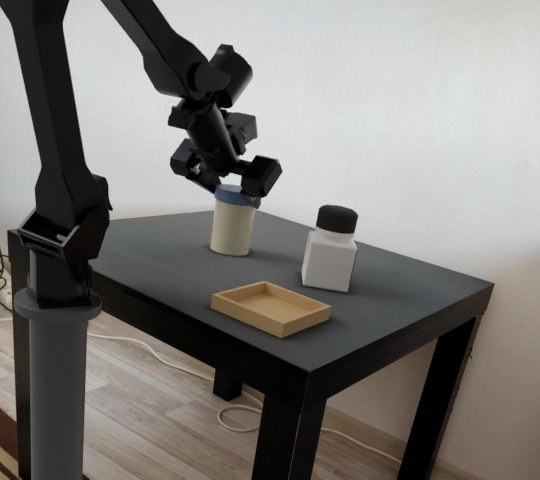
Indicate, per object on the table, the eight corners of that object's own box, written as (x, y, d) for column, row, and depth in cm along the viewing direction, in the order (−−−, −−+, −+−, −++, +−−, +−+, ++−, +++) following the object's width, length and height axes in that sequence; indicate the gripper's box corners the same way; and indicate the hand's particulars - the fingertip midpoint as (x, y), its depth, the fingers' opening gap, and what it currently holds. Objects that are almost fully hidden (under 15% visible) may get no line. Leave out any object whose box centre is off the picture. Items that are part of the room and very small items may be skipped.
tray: (281, 338, 69) (283, 323, 68) (210, 307, 74) (212, 293, 73) (328, 319, 77) (331, 306, 77) (262, 293, 83) (264, 280, 82)
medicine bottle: (348, 293, 89) (365, 215, 84) (302, 286, 89) (317, 207, 84) (343, 279, 96) (359, 206, 91) (301, 273, 96) (315, 199, 91)
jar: (222, 256, 97) (230, 194, 93) (203, 244, 102) (209, 185, 98) (256, 255, 101) (265, 196, 97) (236, 244, 106) (243, 187, 102)
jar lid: (263, 202, 100) (264, 190, 100) (249, 207, 94) (251, 195, 93) (223, 193, 102) (224, 182, 101) (207, 198, 95) (209, 186, 95)
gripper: (287, 102, 84) (310, 178, 97) (188, 83, 92) (221, 156, 105) (248, 158, 81) (277, 229, 94) (149, 134, 89) (189, 203, 102)
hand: (240, 202), depth 99 cm, fingers closed on jar lid, 7 cm apart
